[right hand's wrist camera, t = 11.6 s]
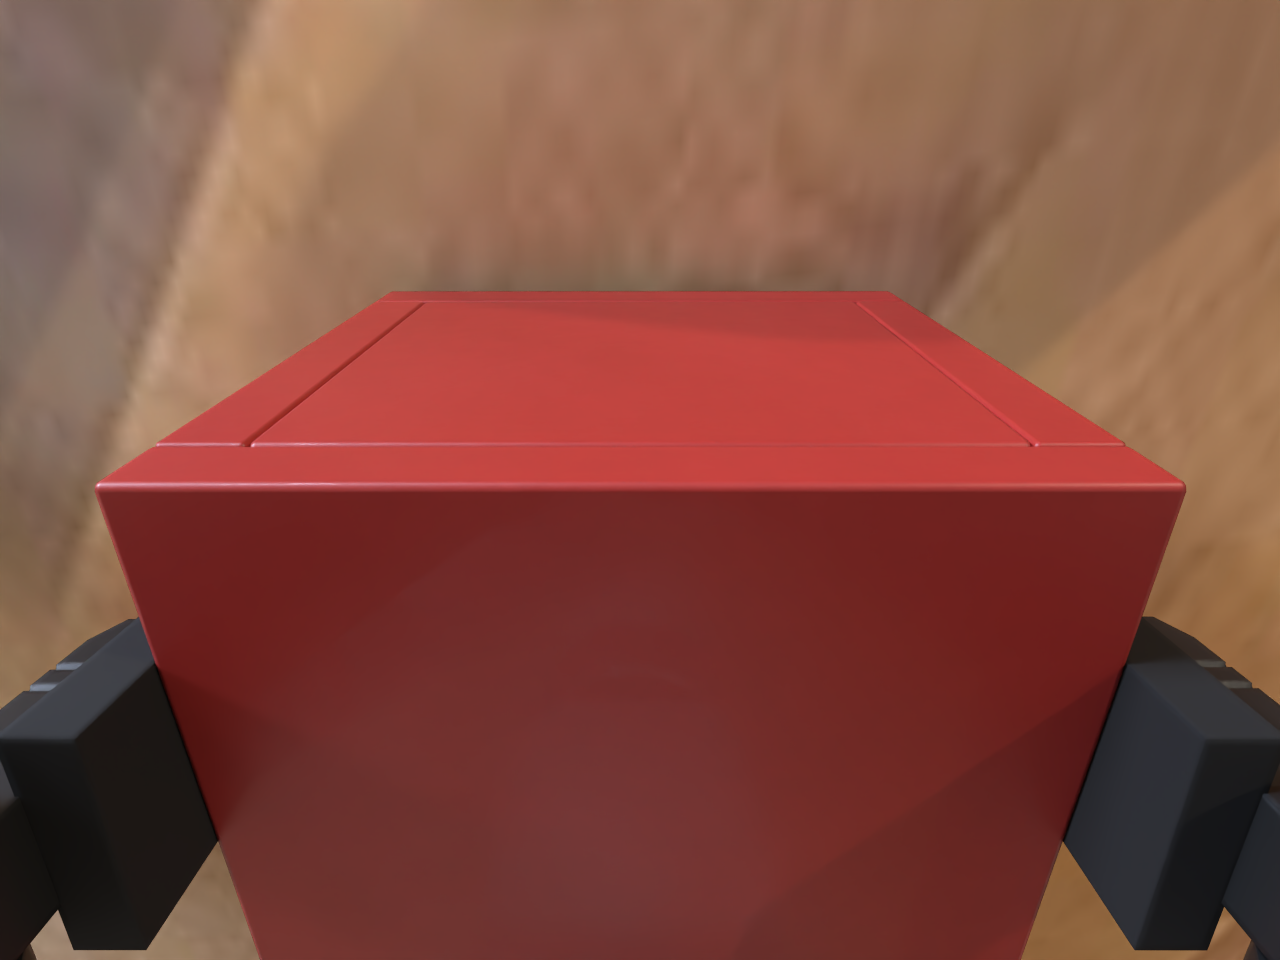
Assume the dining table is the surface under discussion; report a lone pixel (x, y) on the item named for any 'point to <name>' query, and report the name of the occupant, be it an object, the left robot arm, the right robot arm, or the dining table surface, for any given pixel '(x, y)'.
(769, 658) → the cabinet
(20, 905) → the right robot arm
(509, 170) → the dining table surface
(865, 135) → the dining table surface
